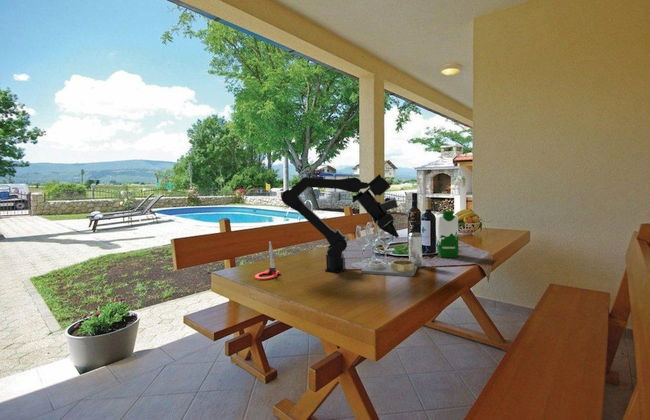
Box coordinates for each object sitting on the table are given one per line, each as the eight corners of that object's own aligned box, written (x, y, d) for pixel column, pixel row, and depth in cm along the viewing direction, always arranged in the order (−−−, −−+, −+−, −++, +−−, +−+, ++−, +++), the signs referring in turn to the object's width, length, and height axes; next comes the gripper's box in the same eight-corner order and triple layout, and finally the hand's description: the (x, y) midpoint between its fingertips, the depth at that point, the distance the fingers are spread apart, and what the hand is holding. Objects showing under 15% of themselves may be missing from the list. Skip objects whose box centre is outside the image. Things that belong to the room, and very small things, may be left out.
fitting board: (361, 273, 122) (360, 270, 122) (368, 265, 132) (368, 263, 132) (413, 276, 115) (412, 273, 115) (416, 268, 125) (416, 266, 125)
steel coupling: (408, 267, 128) (407, 234, 126) (410, 264, 132) (409, 232, 131) (421, 268, 126) (420, 234, 125) (422, 264, 130) (422, 232, 129)
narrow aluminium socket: (367, 268, 124) (367, 263, 124) (371, 265, 129) (370, 260, 129) (381, 269, 122) (381, 264, 121) (385, 266, 127) (384, 261, 127)
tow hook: (268, 282, 117) (283, 274, 125) (264, 247, 115) (280, 241, 123) (250, 280, 121) (265, 272, 129) (246, 246, 119) (262, 240, 127)
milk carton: (439, 258, 140) (438, 211, 138) (435, 253, 149) (434, 210, 147) (460, 257, 139) (460, 211, 137) (455, 253, 148) (454, 209, 146)
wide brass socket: (389, 271, 119) (389, 264, 119) (393, 265, 127) (393, 259, 127) (412, 272, 116) (412, 265, 116) (415, 267, 124) (415, 260, 123)
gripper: (390, 191, 116) (418, 224, 116) (382, 190, 134) (406, 219, 135) (365, 211, 117) (393, 244, 117) (362, 207, 135) (385, 236, 136)
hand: (395, 235), depth 126 cm, fingers open, 9 cm apart
